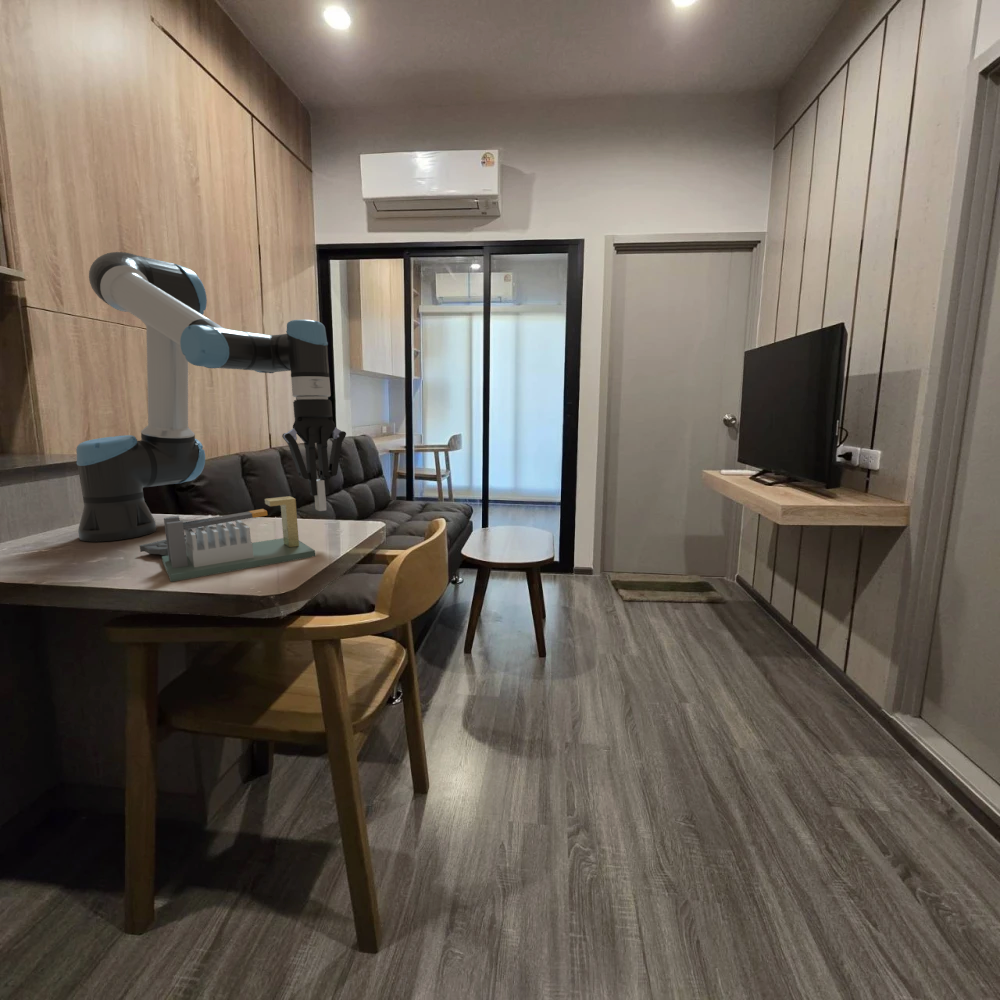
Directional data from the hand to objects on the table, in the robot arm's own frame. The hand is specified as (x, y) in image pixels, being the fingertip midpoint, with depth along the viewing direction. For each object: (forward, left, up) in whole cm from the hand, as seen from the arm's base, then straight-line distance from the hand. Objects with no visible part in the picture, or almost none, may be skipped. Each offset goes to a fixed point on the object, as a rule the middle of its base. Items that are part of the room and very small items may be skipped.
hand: (321, 509), depth 112 cm
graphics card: (-17, -24, -9) cm, 30 cm away
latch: (0, -8, -7) cm, 11 cm away
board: (0, -17, -8) cm, 18 cm away
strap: (0, -19, 0) cm, 19 cm away
